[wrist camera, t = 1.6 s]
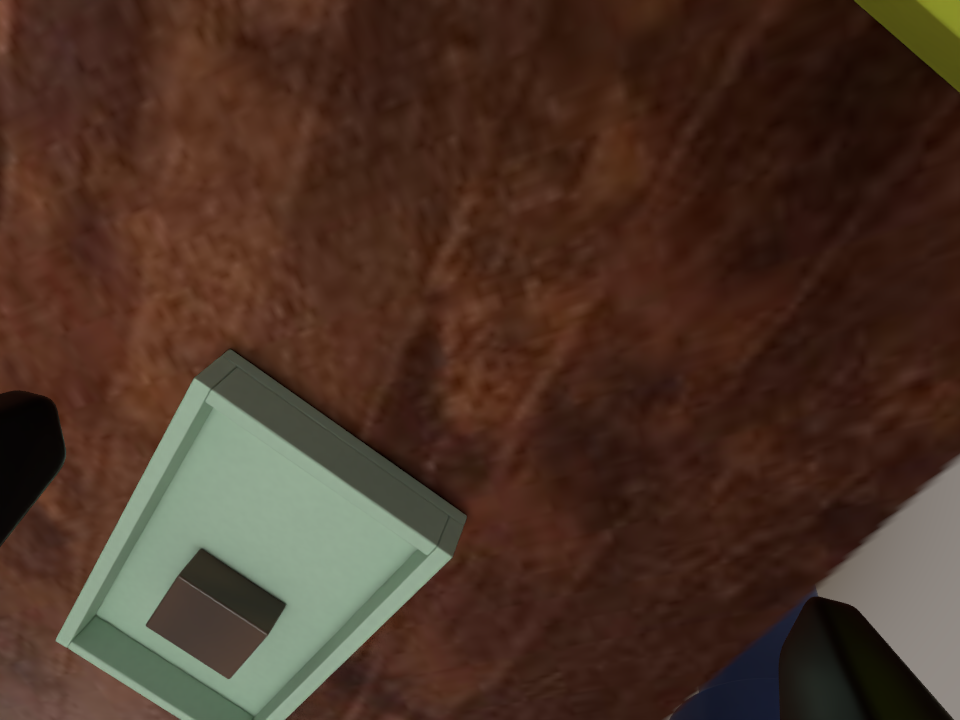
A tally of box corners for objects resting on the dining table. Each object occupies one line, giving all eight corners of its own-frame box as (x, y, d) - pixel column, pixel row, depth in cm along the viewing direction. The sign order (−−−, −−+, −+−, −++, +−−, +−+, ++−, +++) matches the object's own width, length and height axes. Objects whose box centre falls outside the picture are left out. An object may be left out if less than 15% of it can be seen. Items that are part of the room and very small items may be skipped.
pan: (468, 515, 23) (452, 557, 21) (266, 718, 31) (243, 759, 30) (229, 347, 22) (193, 377, 20) (88, 604, 30) (54, 640, 29)
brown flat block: (287, 604, 26) (268, 635, 25) (248, 650, 28) (228, 681, 27) (201, 547, 26) (177, 575, 25) (167, 597, 28) (143, 626, 27)
